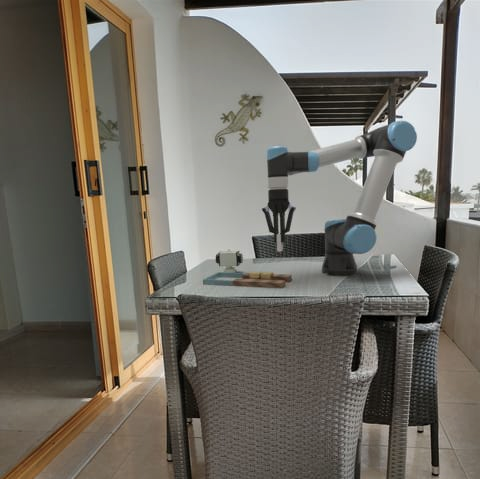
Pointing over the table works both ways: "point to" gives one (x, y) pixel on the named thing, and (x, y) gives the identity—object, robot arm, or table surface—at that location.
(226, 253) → the pneumatic valve
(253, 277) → the chip
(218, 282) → the tray
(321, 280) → the table surface
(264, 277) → the chip
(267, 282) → the slot board
